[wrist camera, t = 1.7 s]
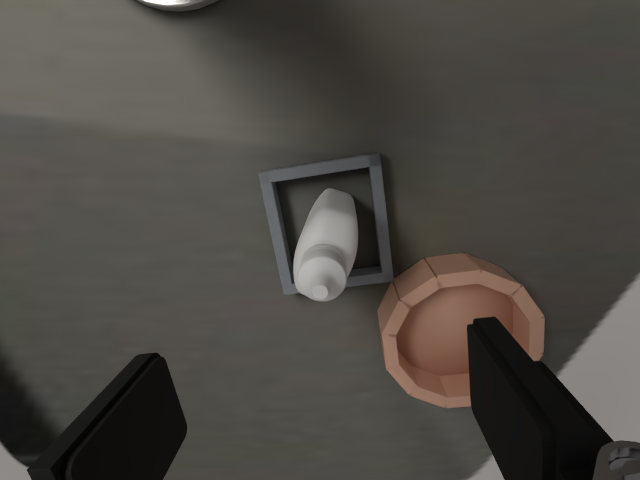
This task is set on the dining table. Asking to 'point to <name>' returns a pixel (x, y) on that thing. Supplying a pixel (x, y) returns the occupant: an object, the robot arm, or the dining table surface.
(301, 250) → the eye dropper bottle
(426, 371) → the bowl
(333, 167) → the open rectangular frame
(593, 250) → the dining table surface
